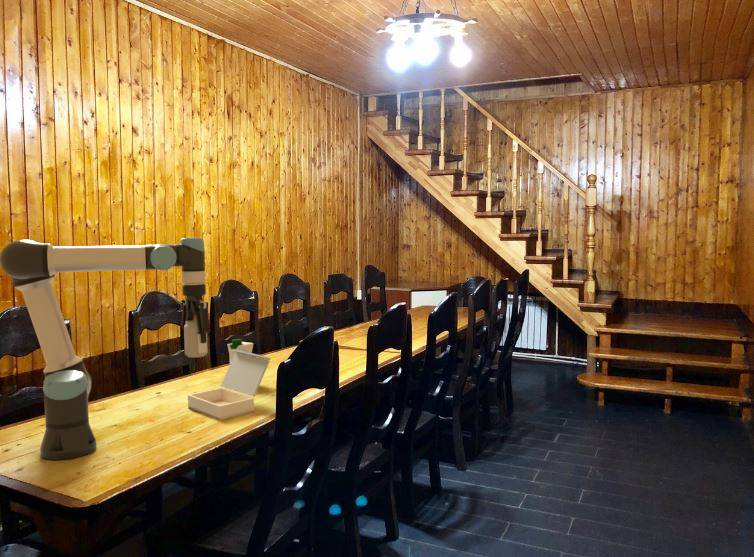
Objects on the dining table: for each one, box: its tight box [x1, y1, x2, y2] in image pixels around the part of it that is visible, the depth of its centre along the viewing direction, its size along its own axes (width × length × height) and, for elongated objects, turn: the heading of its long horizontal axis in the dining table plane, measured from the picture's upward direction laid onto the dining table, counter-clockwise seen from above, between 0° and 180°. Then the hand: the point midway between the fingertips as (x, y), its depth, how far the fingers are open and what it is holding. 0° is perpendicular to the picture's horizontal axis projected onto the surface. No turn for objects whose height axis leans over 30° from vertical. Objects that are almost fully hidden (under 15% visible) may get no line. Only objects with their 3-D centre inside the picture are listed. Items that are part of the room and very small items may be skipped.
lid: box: [220, 349, 271, 398], centre depth 237 cm, size 15×22×2 cm
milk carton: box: [227, 338, 254, 364], centre depth 266 cm, size 9×9×20 cm
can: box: [183, 319, 209, 358], centre depth 214 cm, size 8×8×12 cm
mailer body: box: [187, 387, 255, 421], centre depth 231 cm, size 14×22×5 cm, turn 45°
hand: (196, 350), depth 214 cm, fingers closed on can, 7 cm apart
